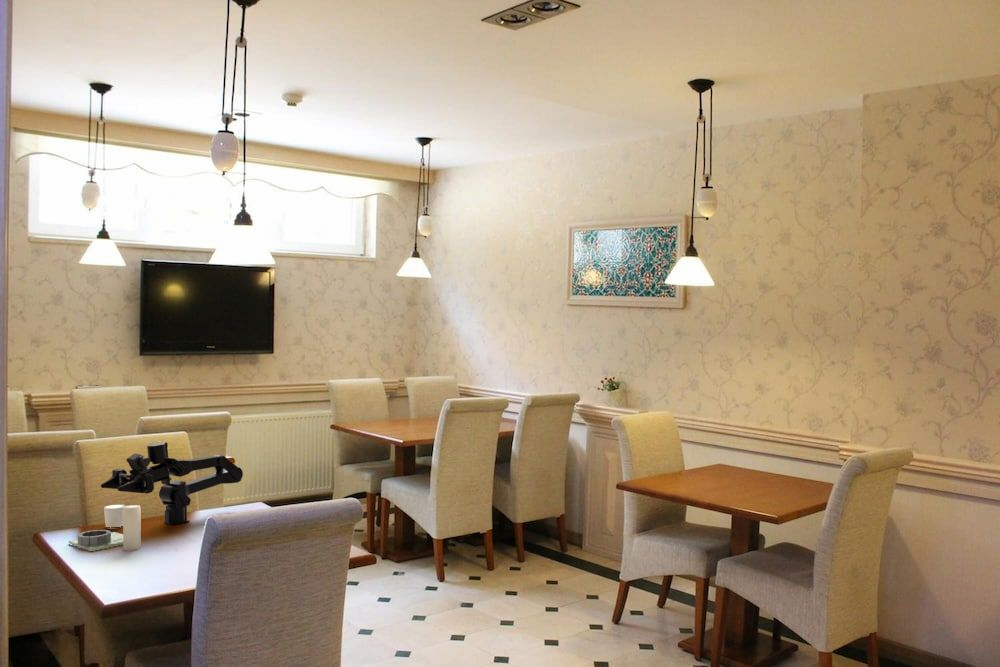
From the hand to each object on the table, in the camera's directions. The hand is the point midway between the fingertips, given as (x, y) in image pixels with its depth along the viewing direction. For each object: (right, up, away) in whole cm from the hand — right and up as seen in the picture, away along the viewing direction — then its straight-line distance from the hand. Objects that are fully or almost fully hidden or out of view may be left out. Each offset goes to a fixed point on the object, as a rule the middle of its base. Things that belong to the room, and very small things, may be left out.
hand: (109, 487), depth 278 cm
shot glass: (-6, -17, +16) cm, 24 cm away
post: (+12, -17, -11) cm, 24 cm away
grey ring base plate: (0, -17, -5) cm, 18 cm away
